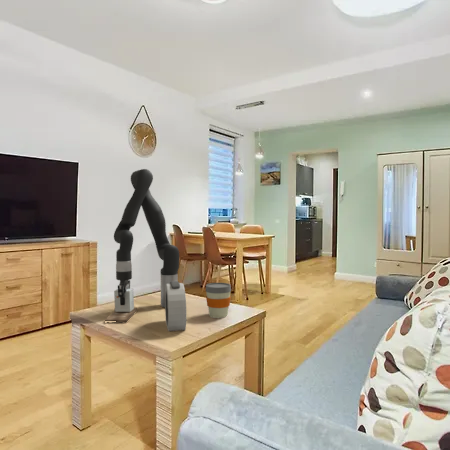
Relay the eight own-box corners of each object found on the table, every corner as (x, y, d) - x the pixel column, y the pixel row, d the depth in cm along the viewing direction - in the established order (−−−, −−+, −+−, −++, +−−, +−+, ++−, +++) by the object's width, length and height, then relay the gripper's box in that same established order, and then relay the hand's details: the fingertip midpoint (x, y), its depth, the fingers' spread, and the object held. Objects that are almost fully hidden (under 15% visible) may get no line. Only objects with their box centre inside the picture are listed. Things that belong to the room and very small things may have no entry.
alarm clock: (165, 319, 169) (164, 278, 168) (181, 318, 170) (180, 277, 170) (168, 334, 148) (168, 287, 147) (186, 332, 150) (186, 286, 149)
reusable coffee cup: (228, 319, 168) (228, 288, 167) (202, 318, 170) (202, 287, 170) (233, 312, 180) (233, 282, 180) (209, 311, 183) (209, 282, 182)
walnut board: (137, 311, 183) (137, 308, 183) (126, 322, 164) (126, 319, 164) (117, 311, 183) (117, 308, 183) (104, 323, 164) (104, 319, 164)
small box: (134, 309, 180) (133, 288, 180) (130, 312, 175) (129, 290, 175) (118, 308, 181) (118, 288, 181) (114, 311, 176) (114, 290, 175)
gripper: (127, 272, 170) (128, 307, 171) (135, 267, 185) (135, 299, 185) (111, 272, 170) (112, 307, 171) (120, 267, 185) (121, 299, 185)
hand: (124, 303), depth 178 cm, fingers closed on small box, 6 cm apart
